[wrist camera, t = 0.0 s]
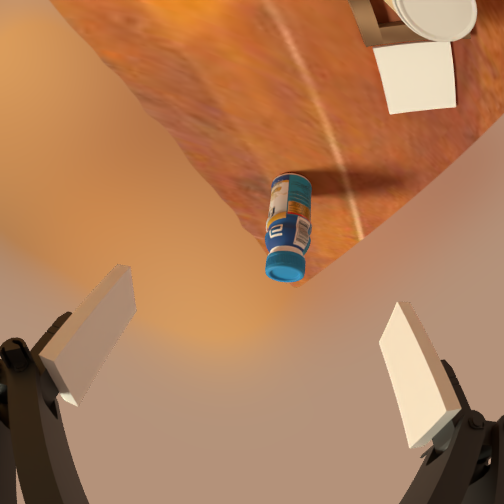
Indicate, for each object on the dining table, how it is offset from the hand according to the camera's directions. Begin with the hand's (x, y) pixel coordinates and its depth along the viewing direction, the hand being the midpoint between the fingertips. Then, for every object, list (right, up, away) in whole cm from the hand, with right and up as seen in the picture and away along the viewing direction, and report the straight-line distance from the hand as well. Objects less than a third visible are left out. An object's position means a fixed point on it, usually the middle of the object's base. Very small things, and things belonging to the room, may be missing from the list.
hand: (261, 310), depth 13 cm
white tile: (+24, +28, +17) cm, 41 cm away
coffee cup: (+18, +36, +6) cm, 40 cm away
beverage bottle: (+8, +16, +45) cm, 48 cm away
